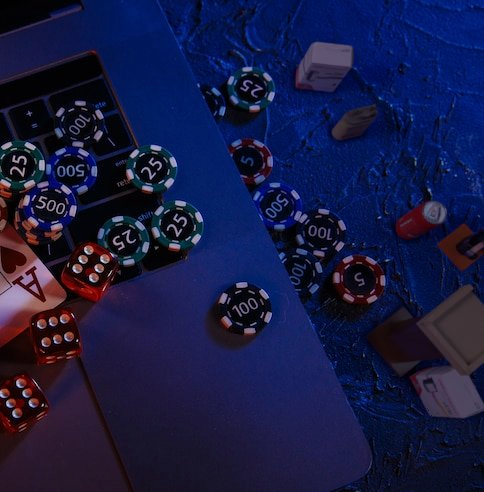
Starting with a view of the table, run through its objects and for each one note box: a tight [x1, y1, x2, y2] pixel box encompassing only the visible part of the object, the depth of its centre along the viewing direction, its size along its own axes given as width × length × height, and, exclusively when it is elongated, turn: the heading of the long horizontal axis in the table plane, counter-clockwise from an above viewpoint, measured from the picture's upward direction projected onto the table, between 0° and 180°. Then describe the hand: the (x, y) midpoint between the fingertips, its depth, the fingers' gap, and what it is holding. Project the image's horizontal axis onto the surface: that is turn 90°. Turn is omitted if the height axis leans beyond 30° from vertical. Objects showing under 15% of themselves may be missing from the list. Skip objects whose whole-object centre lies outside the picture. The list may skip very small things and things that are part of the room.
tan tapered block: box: [331, 103, 379, 141], centre depth 129 cm, size 7×4×10 cm, turn 105°
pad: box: [436, 222, 484, 272], centre depth 114 cm, size 6×6×7 cm
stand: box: [364, 306, 446, 378], centre depth 112 cm, size 10×10×23 cm
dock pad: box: [416, 283, 484, 376], centre depth 100 cm, size 10×10×2 cm
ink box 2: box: [408, 364, 484, 419], centre depth 115 cm, size 9×5×12 cm, turn 22°
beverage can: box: [395, 200, 448, 241], centre depth 123 cm, size 5×5×12 cm
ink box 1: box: [295, 41, 355, 93], centre depth 131 cm, size 9×5×12 cm, turn 83°
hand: (466, 245), depth 115 cm, fingers closed on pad, 2 cm apart
